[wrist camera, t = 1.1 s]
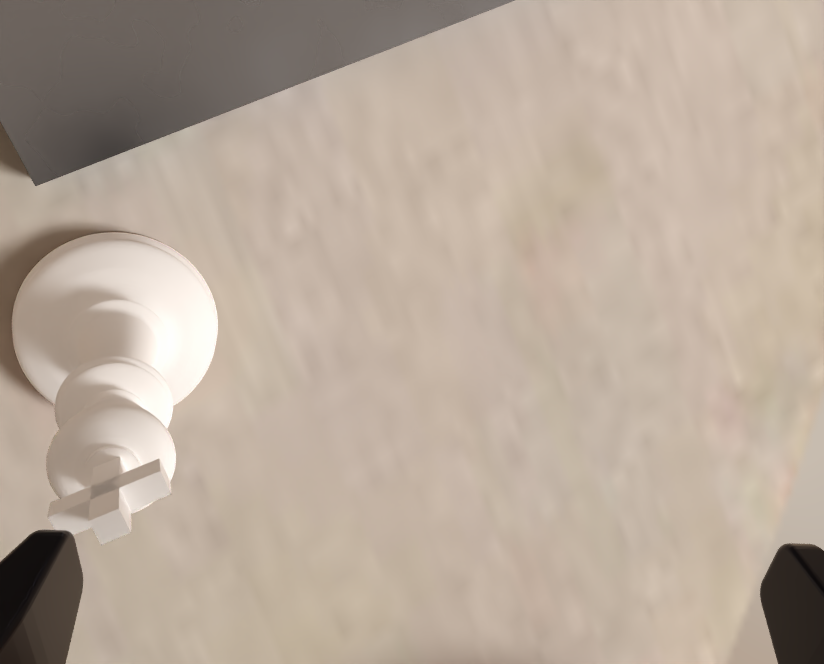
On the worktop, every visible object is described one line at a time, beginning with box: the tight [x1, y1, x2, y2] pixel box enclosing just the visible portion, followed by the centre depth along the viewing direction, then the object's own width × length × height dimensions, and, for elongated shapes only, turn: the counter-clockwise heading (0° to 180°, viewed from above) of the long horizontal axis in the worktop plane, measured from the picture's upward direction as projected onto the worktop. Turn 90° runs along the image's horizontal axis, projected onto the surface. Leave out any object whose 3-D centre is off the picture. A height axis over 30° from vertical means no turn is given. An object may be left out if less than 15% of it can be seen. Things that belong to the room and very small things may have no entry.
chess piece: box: [12, 232, 218, 545], centre depth 16 cm, size 5×5×10 cm
